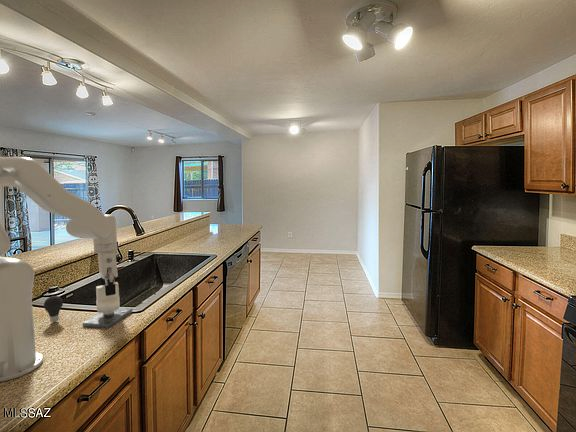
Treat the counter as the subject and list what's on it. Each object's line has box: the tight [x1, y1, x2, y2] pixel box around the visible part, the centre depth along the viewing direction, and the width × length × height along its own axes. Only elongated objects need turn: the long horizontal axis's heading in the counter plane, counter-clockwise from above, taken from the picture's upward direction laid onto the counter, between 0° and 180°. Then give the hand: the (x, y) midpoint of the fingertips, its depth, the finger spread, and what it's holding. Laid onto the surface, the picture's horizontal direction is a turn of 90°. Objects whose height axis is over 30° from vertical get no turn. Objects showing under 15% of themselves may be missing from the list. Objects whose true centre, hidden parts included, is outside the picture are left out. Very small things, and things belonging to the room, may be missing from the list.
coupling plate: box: [82, 307, 133, 329], centre depth 116 cm, size 14×10×4 cm
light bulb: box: [43, 295, 64, 323], centre depth 112 cm, size 6×6×10 cm
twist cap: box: [95, 281, 121, 313], centre depth 115 cm, size 8×8×9 cm
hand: (108, 291), depth 115 cm, fingers open, 9 cm apart
